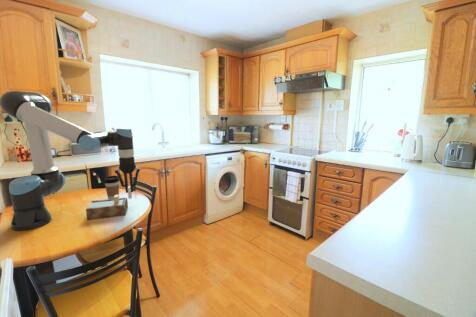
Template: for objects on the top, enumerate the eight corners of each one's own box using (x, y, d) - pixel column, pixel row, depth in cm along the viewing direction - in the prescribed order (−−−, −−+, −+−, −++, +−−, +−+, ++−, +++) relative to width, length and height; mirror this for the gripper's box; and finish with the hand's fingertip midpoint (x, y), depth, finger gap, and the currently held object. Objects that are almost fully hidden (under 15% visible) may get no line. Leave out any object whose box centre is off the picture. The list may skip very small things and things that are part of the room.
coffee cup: (123, 197, 153) (121, 175, 150) (115, 202, 145) (113, 179, 142) (111, 197, 154) (109, 175, 151) (103, 202, 146) (100, 179, 143)
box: (87, 220, 122) (85, 209, 121) (93, 210, 133) (92, 200, 132) (125, 215, 127) (124, 205, 126) (128, 207, 139) (127, 197, 137)
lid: (87, 210, 123) (85, 201, 122) (91, 204, 131) (90, 195, 130) (121, 206, 128) (120, 198, 127) (123, 200, 136) (123, 192, 135)
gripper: (111, 158, 122) (116, 201, 127) (138, 157, 126) (142, 198, 131) (114, 156, 129) (118, 196, 134) (140, 154, 133) (143, 194, 138)
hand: (130, 197), depth 132 cm, fingers closed
